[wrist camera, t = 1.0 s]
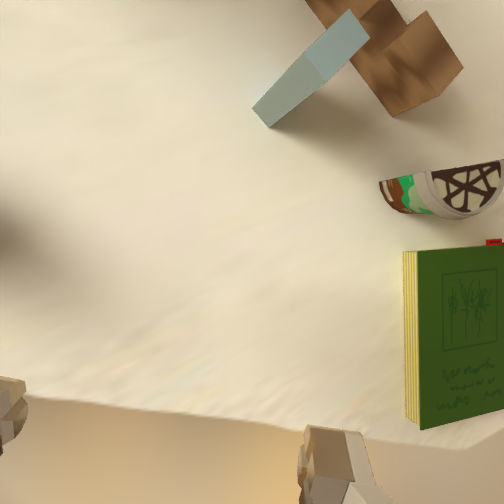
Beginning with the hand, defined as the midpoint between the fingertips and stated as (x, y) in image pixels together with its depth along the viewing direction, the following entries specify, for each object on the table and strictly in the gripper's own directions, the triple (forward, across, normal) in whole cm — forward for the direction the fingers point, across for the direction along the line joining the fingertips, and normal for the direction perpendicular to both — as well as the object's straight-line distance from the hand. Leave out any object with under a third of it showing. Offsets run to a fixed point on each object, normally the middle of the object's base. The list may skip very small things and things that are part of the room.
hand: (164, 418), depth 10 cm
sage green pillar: (+40, -2, -10) cm, 41 cm away
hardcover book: (+41, -33, +17) cm, 55 cm away
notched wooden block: (+46, -11, -19) cm, 51 cm away
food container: (+43, -22, 0) cm, 49 cm away
